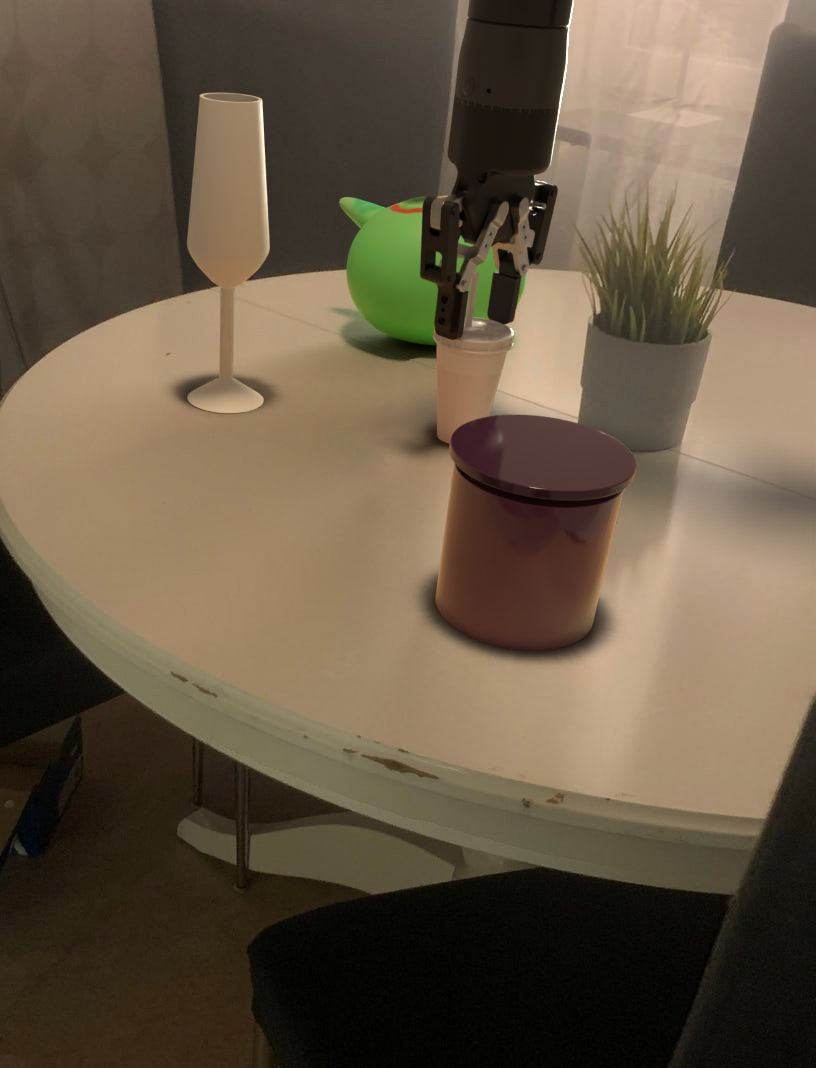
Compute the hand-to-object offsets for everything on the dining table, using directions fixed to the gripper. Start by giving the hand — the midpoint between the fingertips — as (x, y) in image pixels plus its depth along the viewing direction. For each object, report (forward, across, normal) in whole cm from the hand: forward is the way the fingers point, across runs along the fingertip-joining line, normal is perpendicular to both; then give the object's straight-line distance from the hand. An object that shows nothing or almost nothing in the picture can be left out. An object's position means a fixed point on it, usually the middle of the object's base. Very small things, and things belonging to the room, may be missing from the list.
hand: (474, 328), depth 88 cm
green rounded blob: (+10, +19, +19) cm, 29 cm away
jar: (+10, -19, -19) cm, 29 cm away
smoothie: (+10, 0, 0) cm, 10 cm away
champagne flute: (+10, -9, +19) cm, 23 cm away
